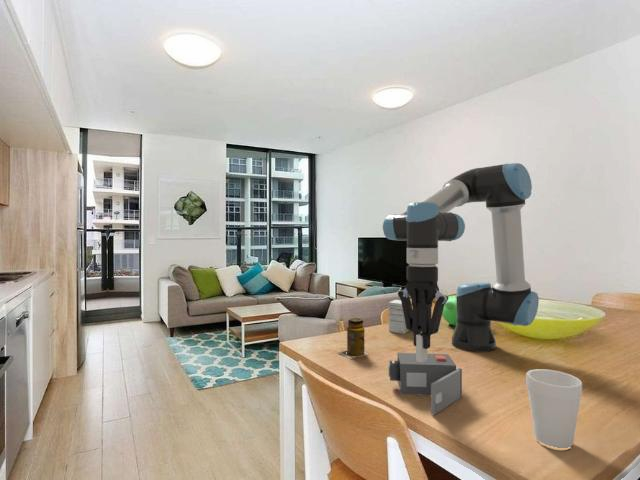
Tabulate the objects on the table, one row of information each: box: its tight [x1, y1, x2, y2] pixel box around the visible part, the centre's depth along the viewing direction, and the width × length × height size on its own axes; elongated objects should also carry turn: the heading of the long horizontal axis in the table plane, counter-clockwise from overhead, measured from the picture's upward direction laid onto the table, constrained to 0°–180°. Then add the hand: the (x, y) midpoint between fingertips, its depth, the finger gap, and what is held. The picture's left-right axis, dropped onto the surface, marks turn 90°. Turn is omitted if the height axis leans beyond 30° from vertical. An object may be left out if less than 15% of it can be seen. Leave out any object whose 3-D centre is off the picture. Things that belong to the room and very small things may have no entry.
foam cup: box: [525, 368, 583, 448], centre depth 74 cm, size 10×9×13 cm
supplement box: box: [388, 299, 411, 335], centre depth 159 cm, size 7×7×13 cm
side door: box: [430, 368, 463, 416], centre depth 90 cm, size 14×2×7 cm, turn 134°
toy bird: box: [442, 294, 457, 327], centre depth 167 cm, size 18×17×15 cm
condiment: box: [337, 317, 370, 359], centre depth 130 cm, size 7×8×12 cm
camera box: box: [388, 352, 457, 396], centre depth 101 cm, size 17×9×9 cm, turn 84°
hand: (421, 360), depth 92 cm, fingers closed
